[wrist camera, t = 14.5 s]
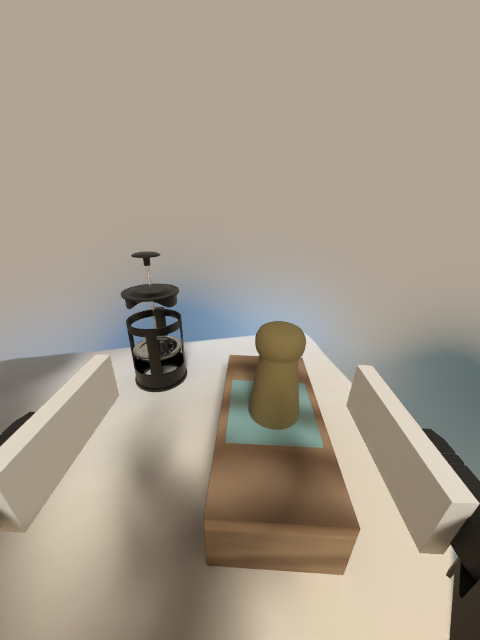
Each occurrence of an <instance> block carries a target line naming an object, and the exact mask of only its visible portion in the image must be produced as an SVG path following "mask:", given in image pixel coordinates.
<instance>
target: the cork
mask: <svg viewBox="0 0 480 640" xmlns="http://www.w3.org/2000/svg"><path fill="white" fill-rule="evenodd" d="M255 344H256V349H257V351H258V353H259V354H260V355H259V359H258V364H257V369H256V373H255V378H254V383H253V387H252V392H251V397H250V401H249V414H250V416H251V418H252V419H253V420H254V421H255V422H256V423H257V424H259V425H261V426H262V427H265V428H268V429H272V430H282V429H286V428H289V427H291V426H293V425H294V424H295V423H296V422H297V420H298V417H299V371H298V359H299V358H300V357H301V356H302V355H303V353H304V350H305V345H306V338H305V335H304V333H303V331H302V330H301V329H300V328H299V327H298V326H296V325H294V324H291V323H288V322H282V321H275V322H269V323H266V324H264V325H262V326H261V327H260V329H259V330H258V332H257V334H256V339H255Z"/></svg>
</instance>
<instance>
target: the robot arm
mask: <svg viewBox="0 0 480 640" xmlns="http://www.w3.org/2000/svg"><path fill="white" fill-rule="evenodd" d="M118 396H119V393H118V389H117V384H116V380H115V375H114V371H113V367H112V362H111V358H110V355H95V356H94V357H93V358H92V359H91V360H90V361H88V362H87V363H86V364H85V365H84V366H83V367H82V368H81V369H80V370H79V371H78V372H77V373H76V374H75V375H74V376H73V377H72V378H71V379H70V380H69V381H68V382H67V383H66V384H65V385H64V386H63V387H62V388H61V389H60V390H58V391H57V392H56V393H55V394H54V395H53V396H52V397H51V398H50V399H49V400H48V401H47V402H46V403H45V404H44V405H43V406H42V407H41V408H40V409H39V410H38V411H37V412H29V413H28V414H26V415H24V416H23V417H21V418H19V419H18V420H16V421H15V422H14V423H12V424H11V425H10V426H9V427H8V428H7V429H6V430H5V431H4V432H3V434H2V435H0V528H1V529H2V531H9V532H26V530H27V529H28V527H29V526H30V524H31V523H32V521H33V520H34V519H35V517H36V516H37V514H38V513H39V511H40V510H41V508H42V507H43V505H44V504H45V503H46V501H47V500H48V498H49V497H50V495H51V494H52V492H53V491H54V489H55V488H56V487H57V485H58V484H59V482H60V481H61V479H62V478H63V476H64V475H65V473H66V472H67V470H68V469H69V468H70V466H71V465H72V463H73V462H74V460H75V459H76V457H77V456H78V454H79V453H80V452H81V450H82V449H83V447H84V446H85V444H86V443H87V441H88V440H89V438H90V437H91V436H92V434H93V433H94V431H95V430H96V428H97V427H98V425H99V424H100V422H101V421H102V419H103V418H104V417H105V415H106V414H107V412H108V411H109V409H110V408H111V406H112V405H113V403H114V402H115V401H116V399H117V398H118ZM347 407H348V409H349V411H350V413H351V415H352V418H353V420H354V422H355V424H356V426H357V428H358V430H359V432H360V434H361V436H362V438H363V440H364V442H365V444H366V446H367V448H368V450H369V452H370V454H371V456H372V458H373V460H374V462H375V464H376V466H377V468H378V470H379V472H380V474H381V476H382V478H383V480H384V482H385V484H386V486H387V488H388V490H389V492H390V494H391V496H392V498H393V500H394V502H395V504H396V506H397V508H398V510H399V512H400V514H401V516H402V518H403V520H404V522H405V524H406V526H407V528H408V530H409V532H410V534H411V536H412V538H413V540H414V542H415V544H416V546H417V548H418V550H419V552H420V553H430V554H444V553H445V551H446V550H447V548H448V547H449V546H450V544H451V545H452V547H453V549H454V550H455V552H456V554H457V555H458V558H457V559H456V561H455V562H454V563H453V564H452V566H451V567H450V568H449V570H448V572H447V574H446V576H448V577H449V578H451V577H452V576H453V575H454V586H453V600H452V613H451V626H450V639H449V640H480V481H479V480H478V479H477V478H476V476H475V475H474V474H473V473H472V472H471V471H470V469H469V468H468V467H467V466H465V465H464V462H463V461H462V460H461V459H460V458H459V456H458V455H456V454H455V452H454V450H453V449H452V448H451V447H450V446H449V445H448V443H447V442H446V441H445V440H444V439H443V438H442V437H440V436H439V435H438V434H436V433H435V432H434V431H432V430H431V429H421V428H420V427H419V425H418V424H417V423H416V422H415V420H414V419H413V418H412V416H411V415H410V414H409V413H408V411H407V410H406V409H405V407H404V406H403V405H402V404H401V402H400V401H399V400H398V398H397V397H396V396H395V395H394V393H393V392H392V391H391V390H390V388H389V387H388V386H387V384H386V383H385V382H384V380H383V379H382V378H381V377H380V375H379V374H378V373H377V372H376V370H375V369H374V368H373V366H366V365H357V368H356V372H355V376H354V379H353V383H352V387H351V390H350V394H349V398H348V401H347Z"/></svg>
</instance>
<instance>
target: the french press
mask: <svg viewBox="0 0 480 640" xmlns="http://www.w3.org/2000/svg"><path fill="white" fill-rule="evenodd" d="M159 255H160V254H159V253H156V252H138V253H134V254H132V255H131V256H132V257H137V258H143V261H144V266H146V268H147V275H148V283H149V284H145V285H138V286H134V287H130V288H128V289H126V290H124V291H122V292H121V297H122V298H123V299H125V302H126V307H127V308H128V309H132V308H133V307H134V306H135V305H137V304H138V303H141V302H148V301H151V304H152V310H146V311H142V312H139V313H136V314H134V315H132V316H130V317H129V318H128V319H127V320H126V323H127V329H128V335H129V340H130V346H131V351H132V357H133V362H134V367H135V373H136V378H135V380H136V384H137V386H138V387H139V388H140V389H142V390H145V391H148V392H161V391H166V390H170V389H172V388H175V387H176V386H178V385H180V384H181V383H182V382H183V381H184V380H185V378H186V376H187V369H186V367H185V356H184V344H183V333H182V321H181V315H180V313H178V312H176V311H174V310H169V309H164V307H155V308H154V303H153V302H156V303H159V304H161V305H163V306H166V307H173V306H174V305H175V304H176V303H177V294H178V293H179V289H178V287H176V286H173V285H168V284H151V280H150V273H149V265H150V257H157V256H159ZM151 316H153V320H154V327H155V329H137V328H133V327H131V324H132V323H133V322H135V321H137V320H139V319H142V318H146V317H151ZM165 316H171V317H175V318H177V319H178V321H177V322H175V323H174V324H172V325H169V326H166V320H165ZM179 328H180V332H181V341H180V340H179V339H177V338H175V337H171V336H167V334H169V333H172V332H174V331H176V330H177V329H179ZM133 335H135V336H139V337H146V339H145V340H143V341H141V342H139V343H138V344H137V345H136V346H135V345H134V339H133ZM181 348H182V353H181V352H180V351H181ZM137 358H138V359H137ZM163 364H169V365H174V366H176V367H178V368H177V369H175V370H173V371H171V372H169V373H165V374H162V369H161V365H163ZM149 369H151V375H146V374H144V373H145V372H146V371H147V370H149Z"/></svg>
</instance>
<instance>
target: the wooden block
mask: <svg viewBox="0 0 480 640" xmlns="http://www.w3.org/2000/svg"><path fill="white" fill-rule="evenodd" d="M258 359H259V356H240V355H230V356H229V363H228V369H227V375H226V381H225V388H224V394H223V400H222V406H221V413H220V419H219V425H218V431H217V438H216V444H215V450H214V456H213V463H212V469H211V475H210V481H209V488H208V494H207V500H206V506H205V513H204V532H205V546H206V560H207V565H209V566H223V567H238V568H252V569H266V570H280V571H295V572H309V573H323V574H338V575H343V574H344V572H345V569H346V566H347V564H348V561H349V558H350V555H351V553H352V550H353V547H354V545H355V542H356V539H357V536H358V534H359V531H360V527H359V524H358V521H357V518H356V515H355V512H354V509H353V506H352V503H351V500H350V497H349V494H348V491H347V488H346V485H345V482H344V479H343V477H342V474H341V471H340V468H339V465H338V462H337V459H336V456H335V453H334V450H333V447H332V444H331V441H330V438H329V435H328V432H327V429H326V426H325V423H324V421H323V418H322V415H321V412H320V409H319V406H318V403H317V400H316V397H315V394H314V391H313V388H312V385H311V382H310V379H309V376H308V373H307V370H306V368H305V365H304V362H303V359H302V358H299V359H298V371H299V417H298V420H297V422H296V423H295V424H294V425H293V426H291V427H289V428H286V429H282V430H272V429H268V428H265V427H262V426H261V425H259V424H257V423H256V422H255V421H254V420H253V419H252V418H251V416H250V414H249V401H250V397H251V392H252V387H253V383H254V378H255V373H256V369H257V364H258Z"/></svg>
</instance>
